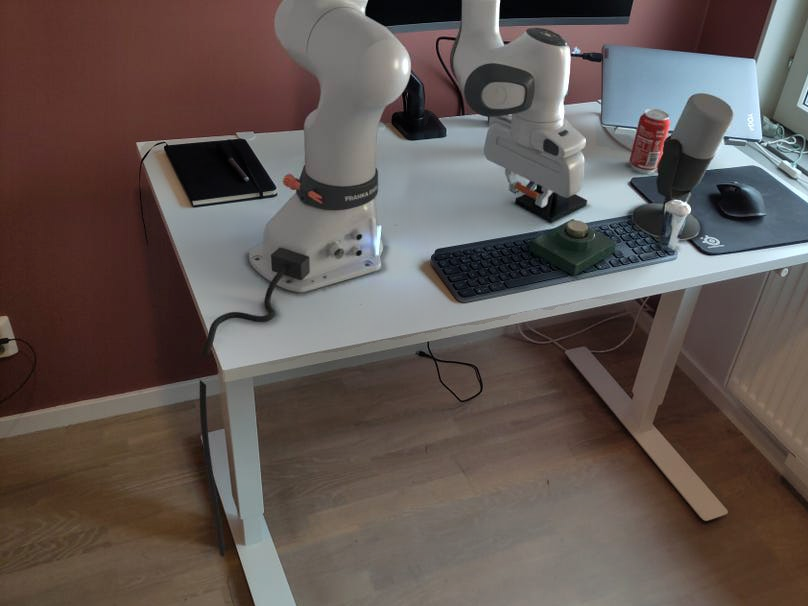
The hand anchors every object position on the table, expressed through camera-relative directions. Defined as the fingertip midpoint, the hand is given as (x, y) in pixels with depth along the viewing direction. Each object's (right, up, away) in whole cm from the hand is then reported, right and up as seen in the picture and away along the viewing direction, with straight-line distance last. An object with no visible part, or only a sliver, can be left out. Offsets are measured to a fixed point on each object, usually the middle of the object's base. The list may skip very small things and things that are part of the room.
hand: (527, 198), depth 151 cm
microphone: (+27, -3, +7) cm, 28 cm away
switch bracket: (+5, 0, +7) cm, 9 cm away
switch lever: (+4, +5, 0) cm, 6 cm away
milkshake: (+26, -9, 0) cm, 27 cm away
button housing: (+8, -10, -5) cm, 14 cm away
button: (+8, -8, -7) cm, 13 cm away
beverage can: (+26, +11, +24) cm, 37 cm away
